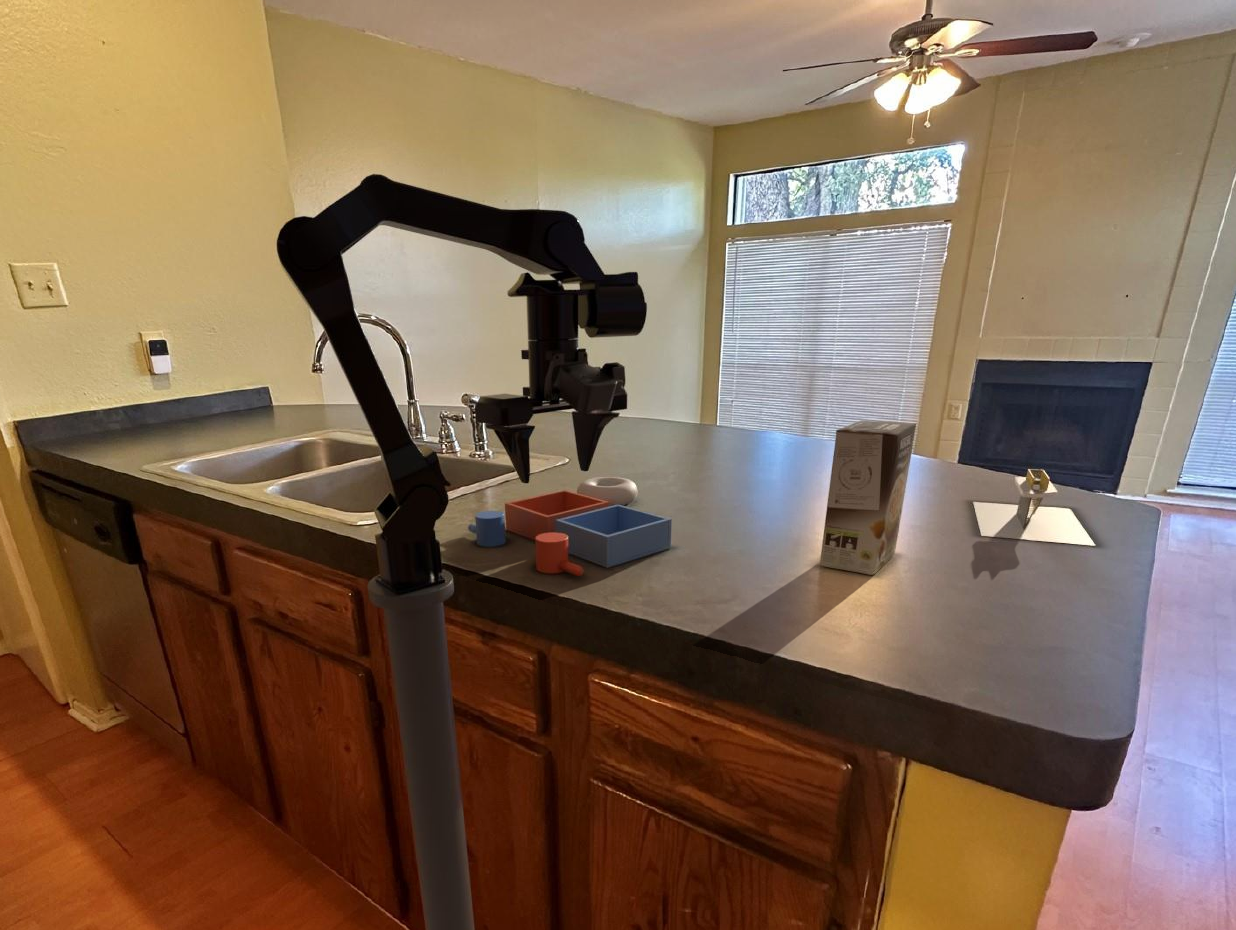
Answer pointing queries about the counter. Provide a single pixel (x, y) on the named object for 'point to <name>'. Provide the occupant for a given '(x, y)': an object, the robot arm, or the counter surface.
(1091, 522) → the counter surface
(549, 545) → the red cylinder with peg
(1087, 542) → the platform
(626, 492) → the donut
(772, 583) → the counter surface
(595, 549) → the blue bin
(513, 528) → the red bin
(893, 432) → the coffee box
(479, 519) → the blue handled mug
